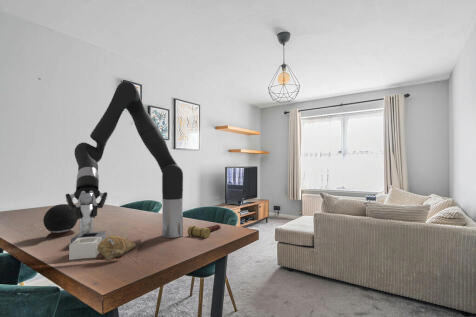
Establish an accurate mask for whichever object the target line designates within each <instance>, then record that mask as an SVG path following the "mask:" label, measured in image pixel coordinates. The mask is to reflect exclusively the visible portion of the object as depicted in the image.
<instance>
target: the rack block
mask: <svg viewBox="0 0 476 317" xmlns="http://www.w3.org/2000/svg"><path fill="white" fill-rule="evenodd" d="M101 241H102V237H88V238H77V239H76V240H75V241H74V242H72V243H71V242H70V244H69V245H68V246H69V250H68V251H69V253H68V254H69V255H68V256H69V257H68V260H72V261H69V263H79V262H80V263H81V262H91V261H96V260H97V259H96V258H97V256H99V254H101V253H100V252H99V251H98V249H97V248H98V245H99V243H100V242H101ZM93 258H94V259H93ZM81 259H83V260H81ZM73 260H74V261H73Z"/></svg>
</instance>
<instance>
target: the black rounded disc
mask: <svg viewBox="0 0 476 317" xmlns="http://www.w3.org/2000/svg"><path fill="white" fill-rule="evenodd" d="M75 212H76V211H75V210H70V208H69V205H68V204H64V203H63V204H57V205H54V206H51V207H50V208H49V209H48V210H47V211H46V212H45V214H44V216H43V220H42V221H43V225H44V226H43V227H44V228H45V229H46V230H48V232H50V233H48V234H47V235H46V236H45V240H48V239H57V238H65V237H70V236H73V235H75V231H74V230H72V229H73V228H74V227H75V226H76V224H77V222H78V220H79V219H78V218H76V217H75Z"/></svg>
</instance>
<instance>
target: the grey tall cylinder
mask: <svg viewBox="0 0 476 317" xmlns="http://www.w3.org/2000/svg"><path fill="white" fill-rule="evenodd" d="M93 223H94V218H93V193H80V219H79V233H80V234H87V233H91V232H94V231H93V230H94V228H93V226H94V225H93Z"/></svg>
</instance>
